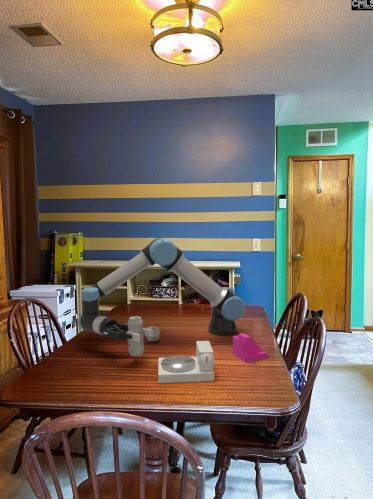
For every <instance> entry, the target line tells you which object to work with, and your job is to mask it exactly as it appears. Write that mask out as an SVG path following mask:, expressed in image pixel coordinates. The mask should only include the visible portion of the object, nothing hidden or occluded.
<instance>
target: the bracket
mask: <svg viewBox="0 0 373 499" xmlns="http://www.w3.org/2000/svg"><path fill="white" fill-rule="evenodd" d="M232 354H233V355H234V356H236V357H237V358H239V359H240V360H241V361H243V362H244V363H247V362H252V361H253V362H254V361H259V360H265V359H271V356H270V355H269V354H268V353H267V352H266V351H264V350H263V348H261V347H260V346H259V344H258V343H257V342H256V341H255V340H254V339H253V338H252V337H251V336H249V335H248V334H246V333H245V332H244V333H243V332H242V333H238V335H233V336H232Z"/></svg>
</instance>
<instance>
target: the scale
mask: <svg viewBox="0 0 373 499" xmlns="http://www.w3.org/2000/svg"><path fill="white" fill-rule="evenodd" d="M195 344H196V347H195V349H196V351H195V352H196V356H190V357H191V358H193V359H194V360H195V367H194V368H193V369H192V370H190V371H186V372H169V371H166V370H164V369H163V368H162V367H161V361H162V360H163V359H164V358H165V357H158V363H157V364H158V365H157V366H158V369H157V372H158V373H157V376H158V377H157V378H158V379H157V380H158V384H172V383H173V384H174V383H175V384H176V383H194V382H195V383H197V382H215V371H214V366H215V363H216V360H215V358H214V351H213V347H212V345H211V342H210V341H209V340H196V341H195Z"/></svg>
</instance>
